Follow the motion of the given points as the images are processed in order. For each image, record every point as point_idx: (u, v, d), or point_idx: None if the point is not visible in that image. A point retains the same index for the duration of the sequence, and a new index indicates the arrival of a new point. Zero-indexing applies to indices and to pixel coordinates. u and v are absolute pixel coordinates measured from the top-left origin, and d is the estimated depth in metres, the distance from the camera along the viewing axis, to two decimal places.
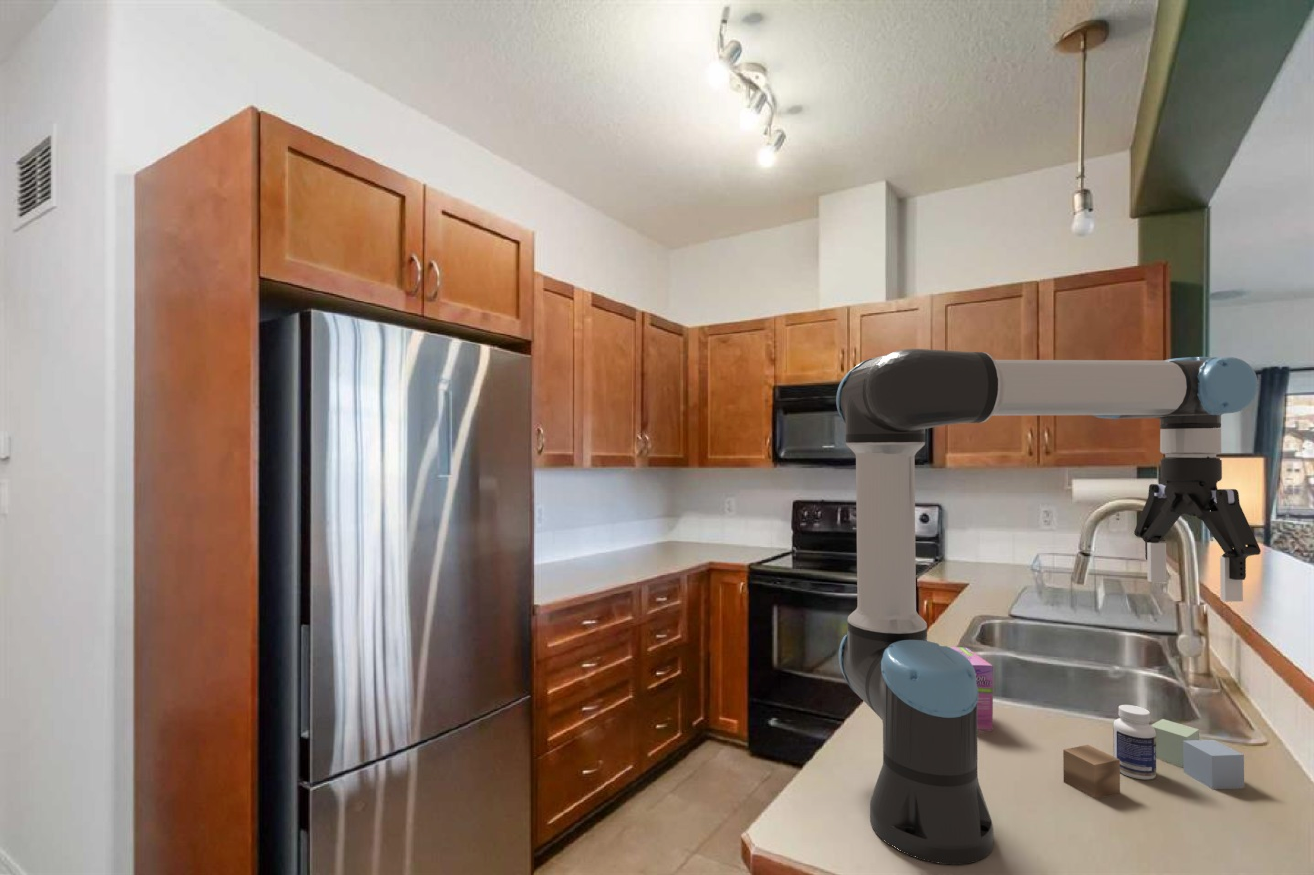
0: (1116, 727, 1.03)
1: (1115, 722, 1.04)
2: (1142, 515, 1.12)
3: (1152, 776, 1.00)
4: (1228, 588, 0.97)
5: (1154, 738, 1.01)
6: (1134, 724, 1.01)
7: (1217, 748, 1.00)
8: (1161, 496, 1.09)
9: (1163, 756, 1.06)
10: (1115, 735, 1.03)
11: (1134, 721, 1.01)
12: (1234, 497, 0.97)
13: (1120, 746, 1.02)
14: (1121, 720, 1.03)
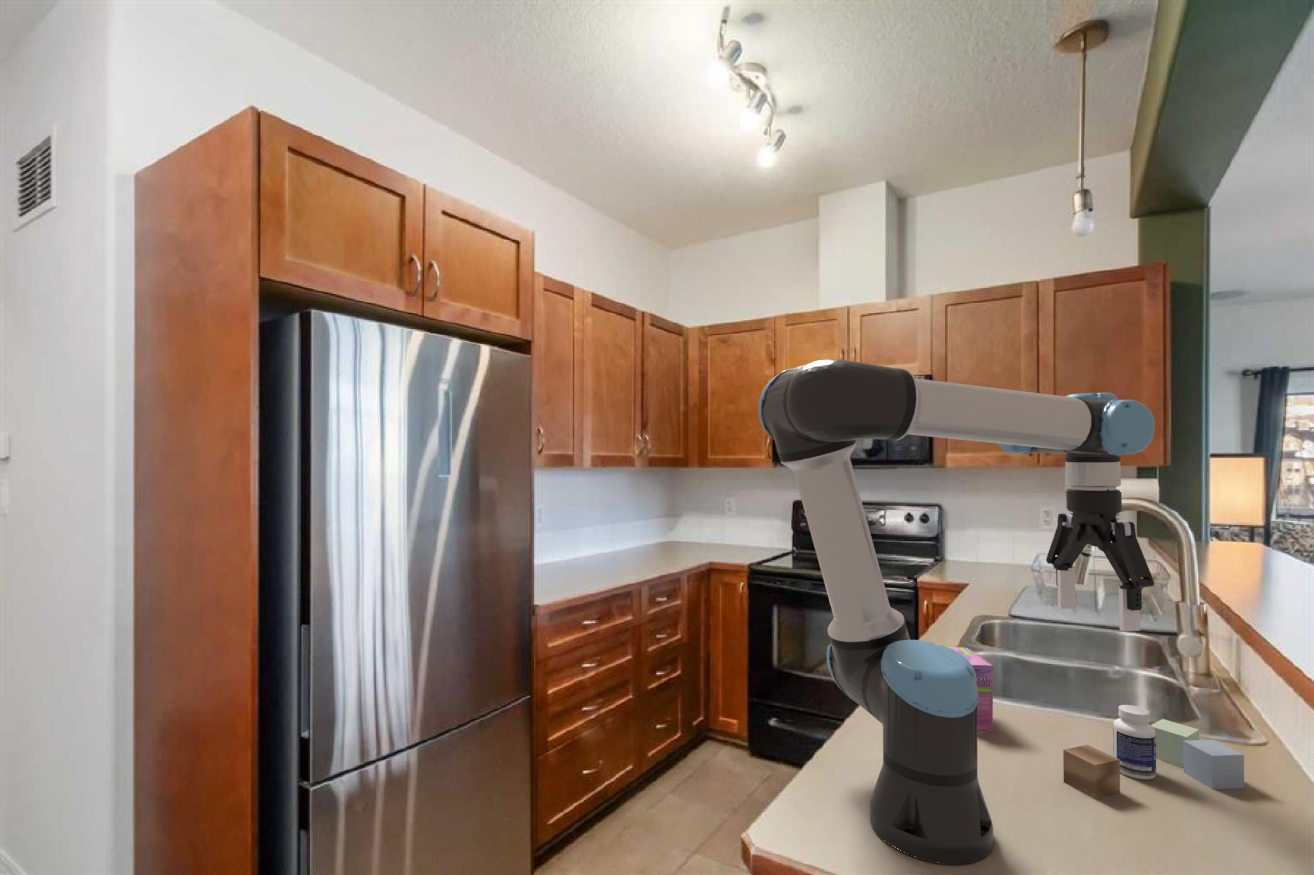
0: (1116, 727, 1.03)
1: (1115, 722, 1.04)
2: (1052, 543, 1.15)
3: (1152, 776, 1.00)
4: (1126, 618, 1.00)
5: (1154, 738, 1.01)
6: (1134, 724, 1.01)
7: (1217, 748, 1.00)
8: (1069, 525, 1.12)
9: (1163, 756, 1.06)
10: (1115, 735, 1.03)
11: (1134, 721, 1.01)
12: (1131, 529, 1.01)
13: (1120, 746, 1.02)
14: (1121, 720, 1.03)
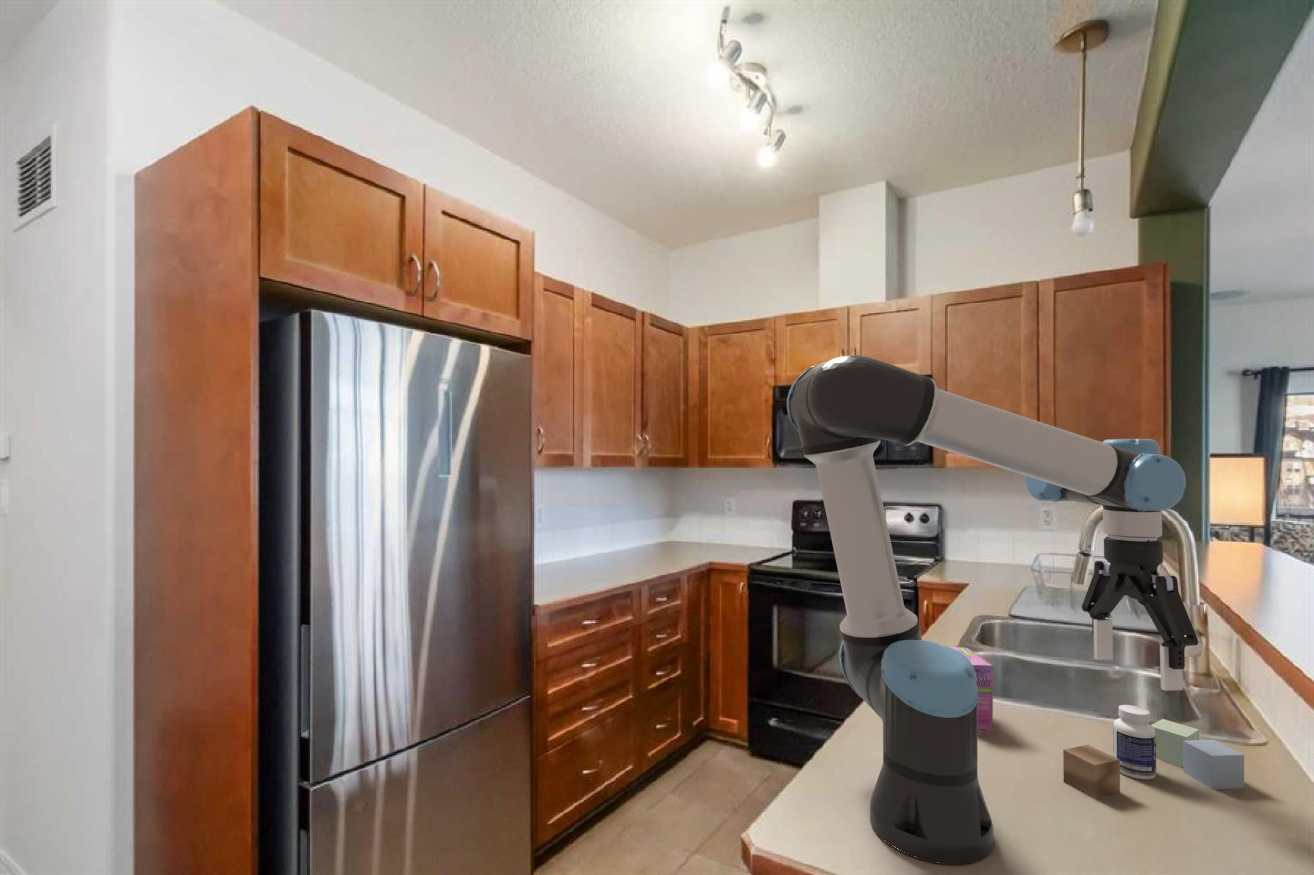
0: (1116, 727, 1.03)
1: (1115, 722, 1.04)
2: (1088, 591, 1.11)
3: (1152, 776, 1.00)
4: (1168, 677, 0.96)
5: (1154, 738, 1.01)
6: (1134, 724, 1.01)
7: (1217, 748, 1.00)
8: (1106, 574, 1.08)
9: (1163, 756, 1.07)
10: (1115, 735, 1.03)
11: (1134, 721, 1.01)
12: (1173, 584, 0.96)
13: (1120, 746, 1.02)
14: (1121, 720, 1.03)
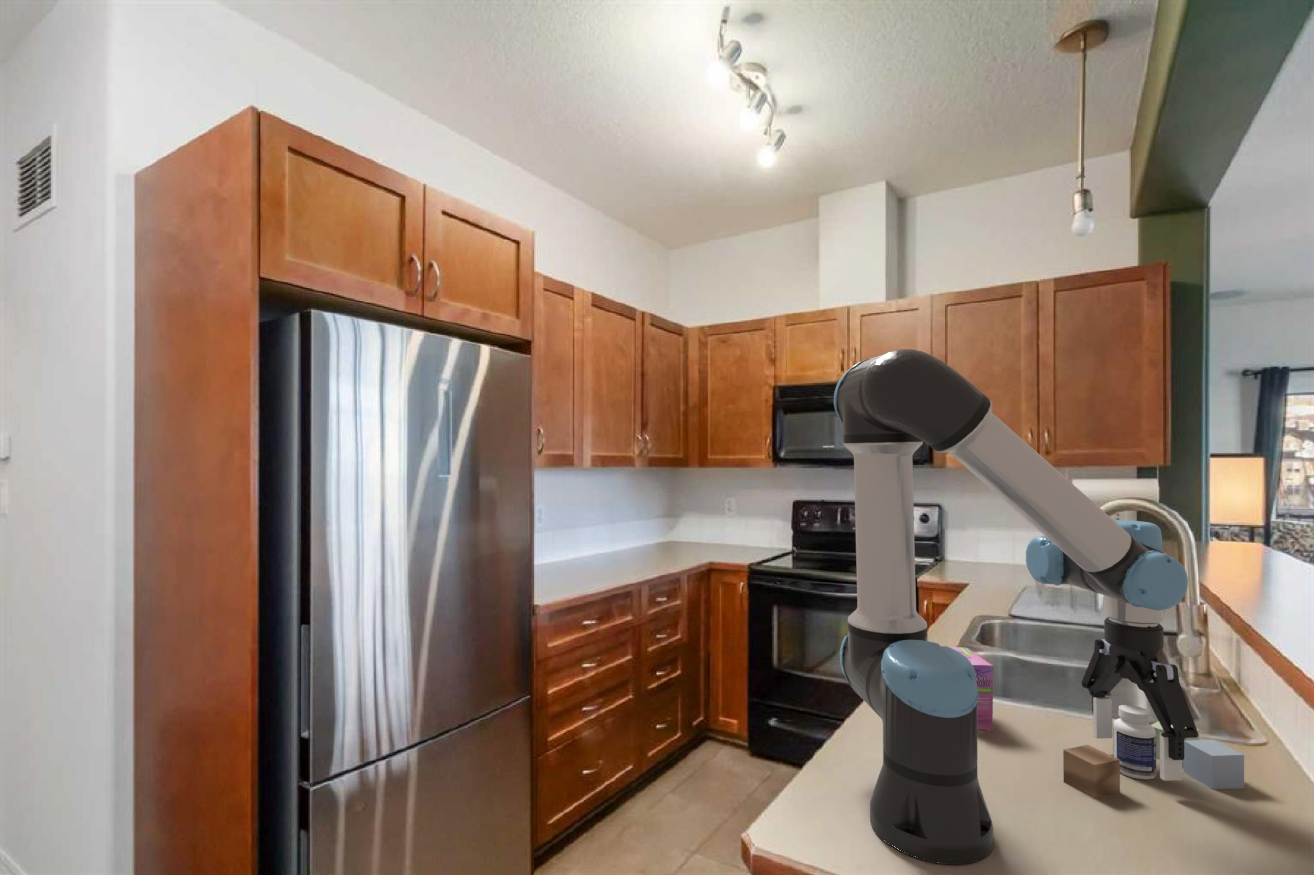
0: (1116, 727, 1.03)
1: (1115, 722, 1.04)
2: (1088, 668, 1.11)
3: (1152, 776, 1.00)
4: (1167, 767, 0.96)
5: (1154, 738, 1.01)
6: (1135, 724, 1.01)
7: (1217, 748, 1.00)
8: (1106, 653, 1.08)
9: None
10: (1115, 735, 1.03)
11: (1134, 721, 1.01)
12: (1173, 673, 0.96)
13: (1120, 746, 1.02)
14: (1121, 720, 1.03)
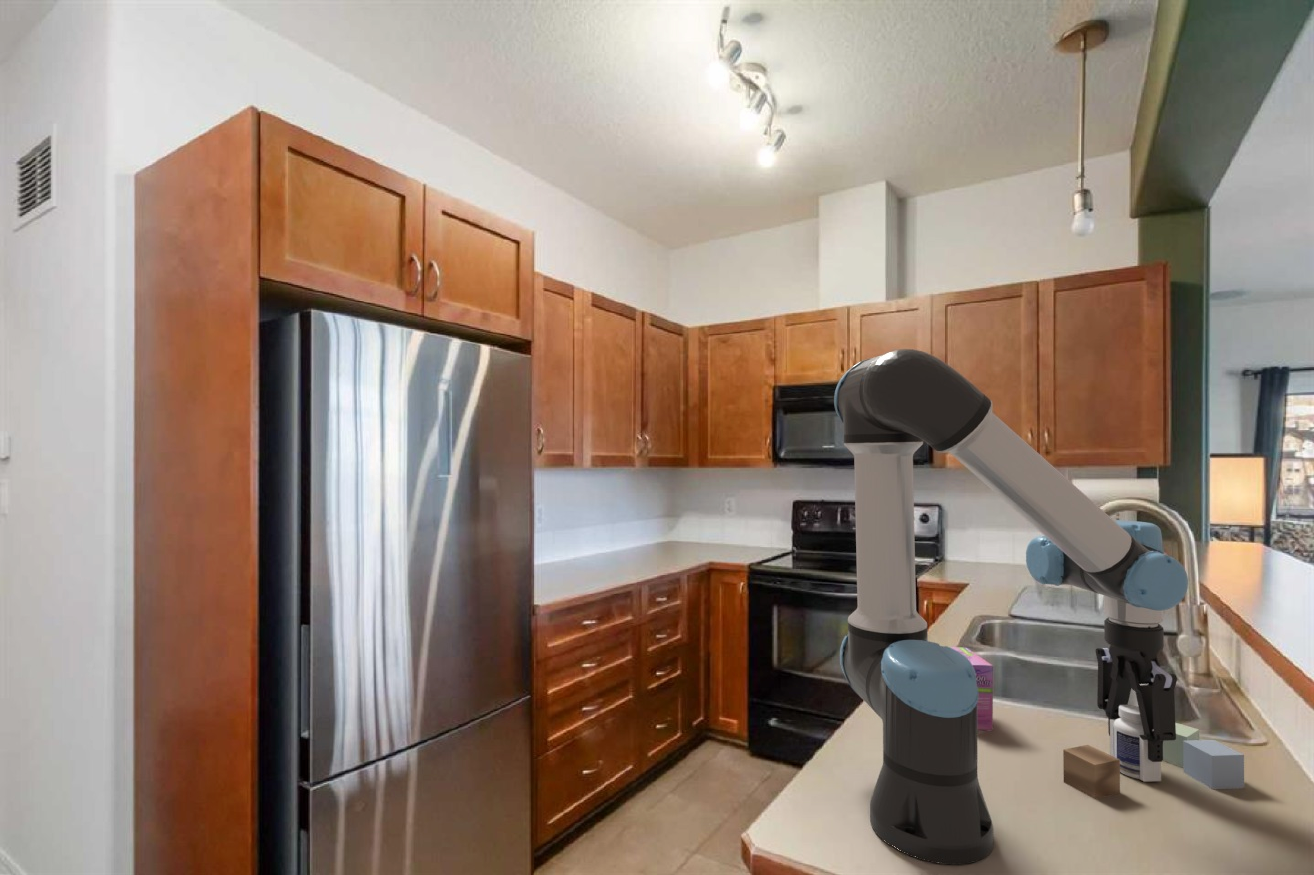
0: (1116, 727, 1.03)
1: (1115, 722, 1.04)
2: (1099, 684, 1.09)
3: None
4: (1147, 768, 0.99)
5: None
6: (1134, 724, 1.01)
7: (1217, 748, 1.00)
8: (1109, 659, 1.07)
9: (1163, 756, 1.07)
10: (1115, 735, 1.03)
11: (1134, 721, 1.01)
12: (1171, 684, 0.96)
13: (1120, 746, 1.02)
14: (1121, 720, 1.03)
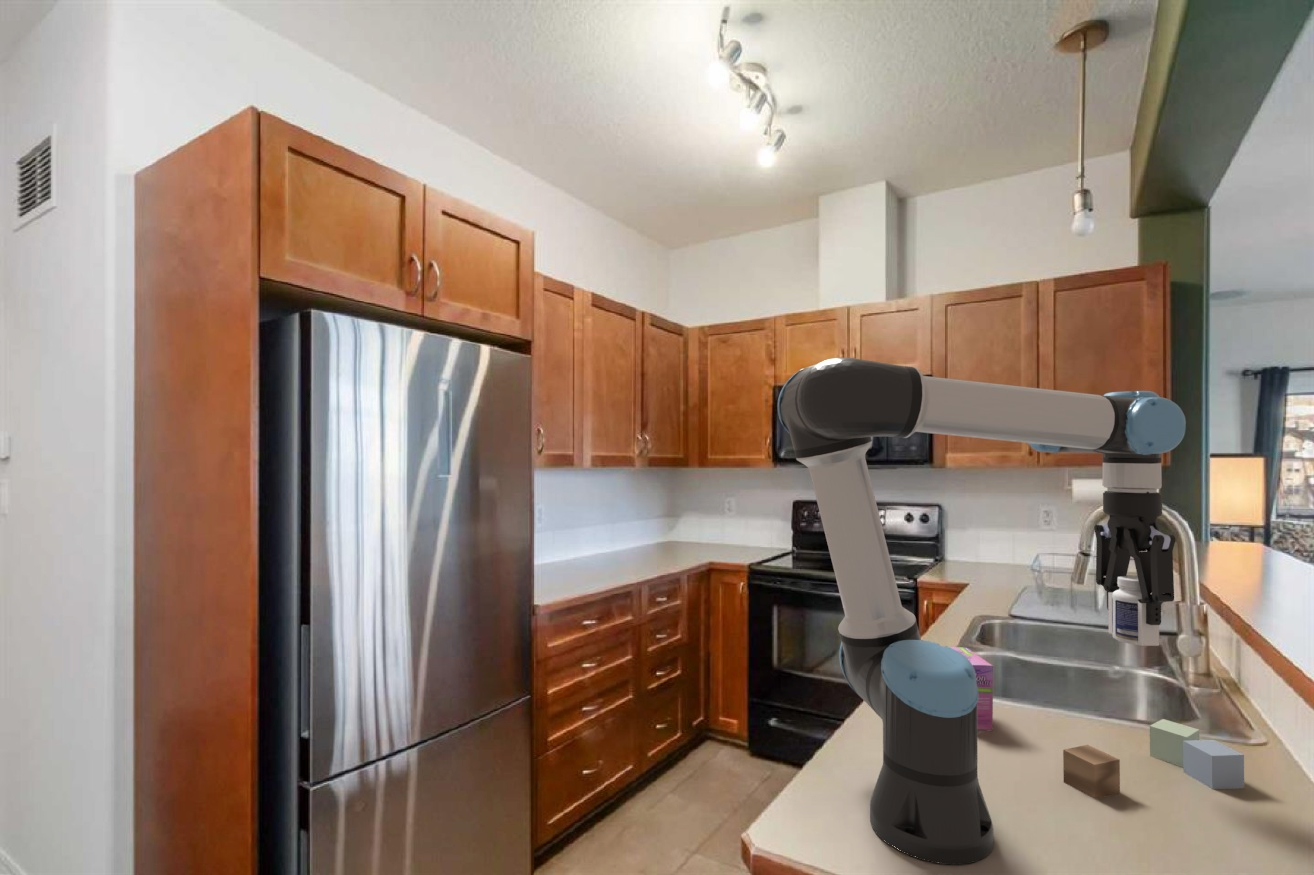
0: (1115, 597, 1.03)
1: (1114, 592, 1.04)
2: (1097, 560, 1.09)
3: None
4: (1145, 633, 1.00)
5: None
6: (1133, 591, 1.02)
7: (1217, 748, 1.00)
8: (1108, 534, 1.08)
9: (1163, 756, 1.07)
10: (1114, 605, 1.03)
11: (1132, 588, 1.01)
12: (1170, 544, 0.97)
13: (1119, 614, 1.02)
14: (1120, 589, 1.03)
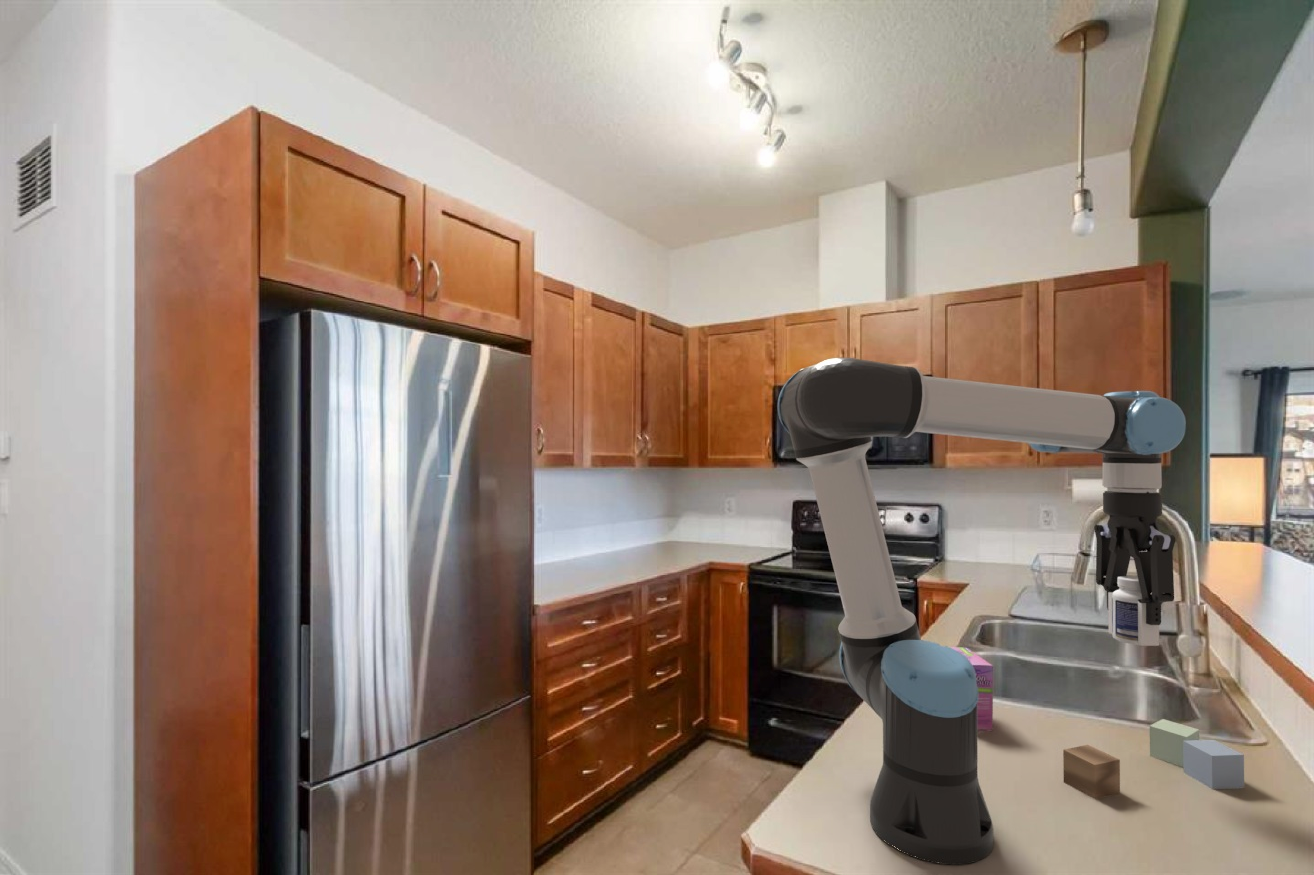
0: (1115, 597, 1.03)
1: (1114, 592, 1.04)
2: (1097, 560, 1.09)
3: None
4: (1145, 633, 1.00)
5: None
6: (1133, 591, 1.02)
7: (1217, 748, 1.00)
8: (1108, 534, 1.08)
9: (1163, 756, 1.07)
10: (1114, 605, 1.03)
11: (1132, 588, 1.01)
12: (1169, 544, 0.97)
13: (1119, 614, 1.02)
14: (1120, 589, 1.03)
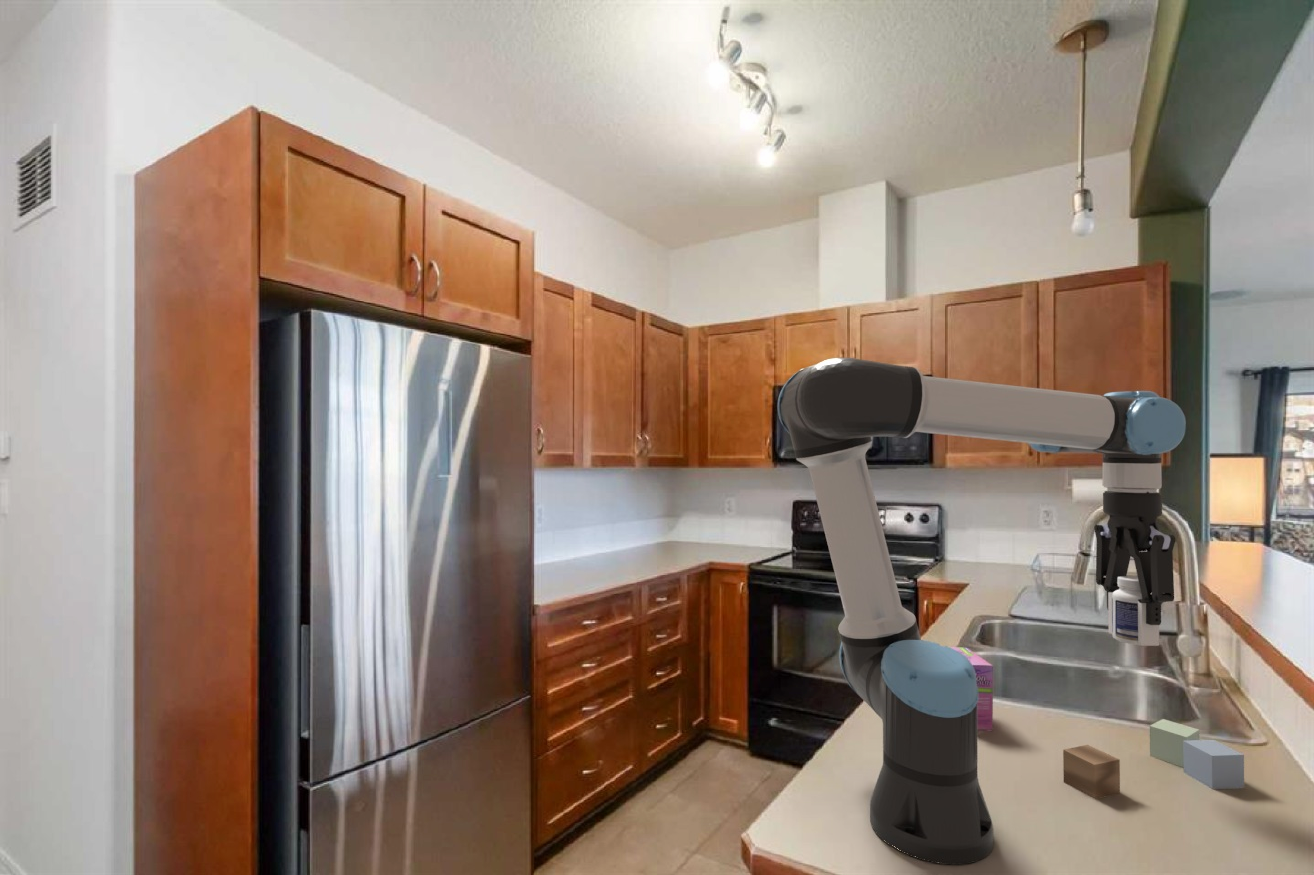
0: (1115, 597, 1.03)
1: (1114, 592, 1.04)
2: (1097, 560, 1.09)
3: None
4: (1145, 633, 1.00)
5: None
6: (1133, 591, 1.02)
7: (1217, 748, 1.00)
8: (1108, 534, 1.08)
9: (1163, 756, 1.07)
10: (1114, 605, 1.03)
11: (1132, 588, 1.01)
12: (1169, 544, 0.97)
13: (1119, 614, 1.02)
14: (1120, 589, 1.03)
